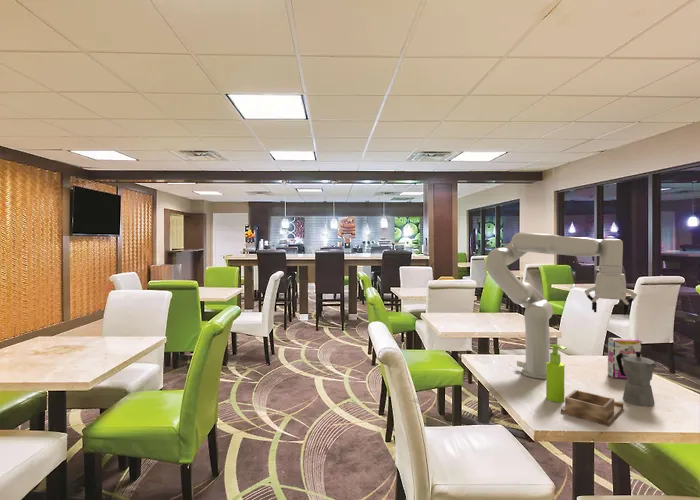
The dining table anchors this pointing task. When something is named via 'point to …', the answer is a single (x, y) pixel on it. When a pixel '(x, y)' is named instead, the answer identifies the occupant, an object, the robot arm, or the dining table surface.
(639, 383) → the coffeepot
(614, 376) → the candy bar box
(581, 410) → the wooden tray
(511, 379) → the dining table surface
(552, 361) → the soap dispenser
